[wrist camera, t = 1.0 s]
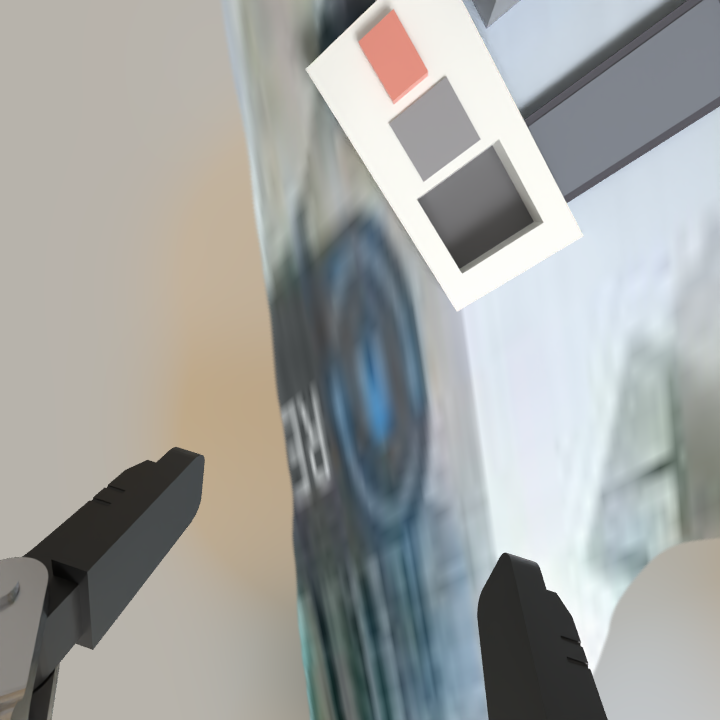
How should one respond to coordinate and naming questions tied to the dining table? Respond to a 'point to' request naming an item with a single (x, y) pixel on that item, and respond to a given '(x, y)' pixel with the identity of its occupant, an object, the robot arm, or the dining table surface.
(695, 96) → the phone
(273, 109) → the dining table surface
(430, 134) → the power strip
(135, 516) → the robot arm
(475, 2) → the block
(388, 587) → the dining table surface
